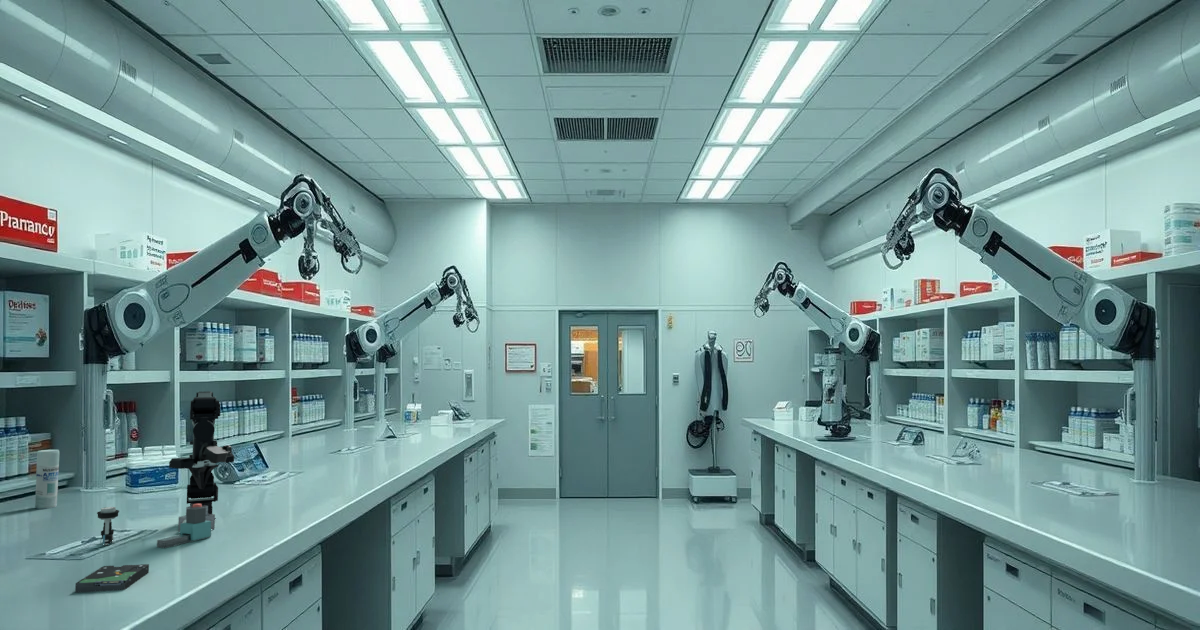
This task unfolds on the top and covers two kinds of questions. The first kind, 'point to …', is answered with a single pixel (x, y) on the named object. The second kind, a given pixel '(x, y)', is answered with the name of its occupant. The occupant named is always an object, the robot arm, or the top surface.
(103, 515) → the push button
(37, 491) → the spray paint can
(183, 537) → the rail
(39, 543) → the top surface
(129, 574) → the disk drive
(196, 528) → the carriage
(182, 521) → the grey piece
